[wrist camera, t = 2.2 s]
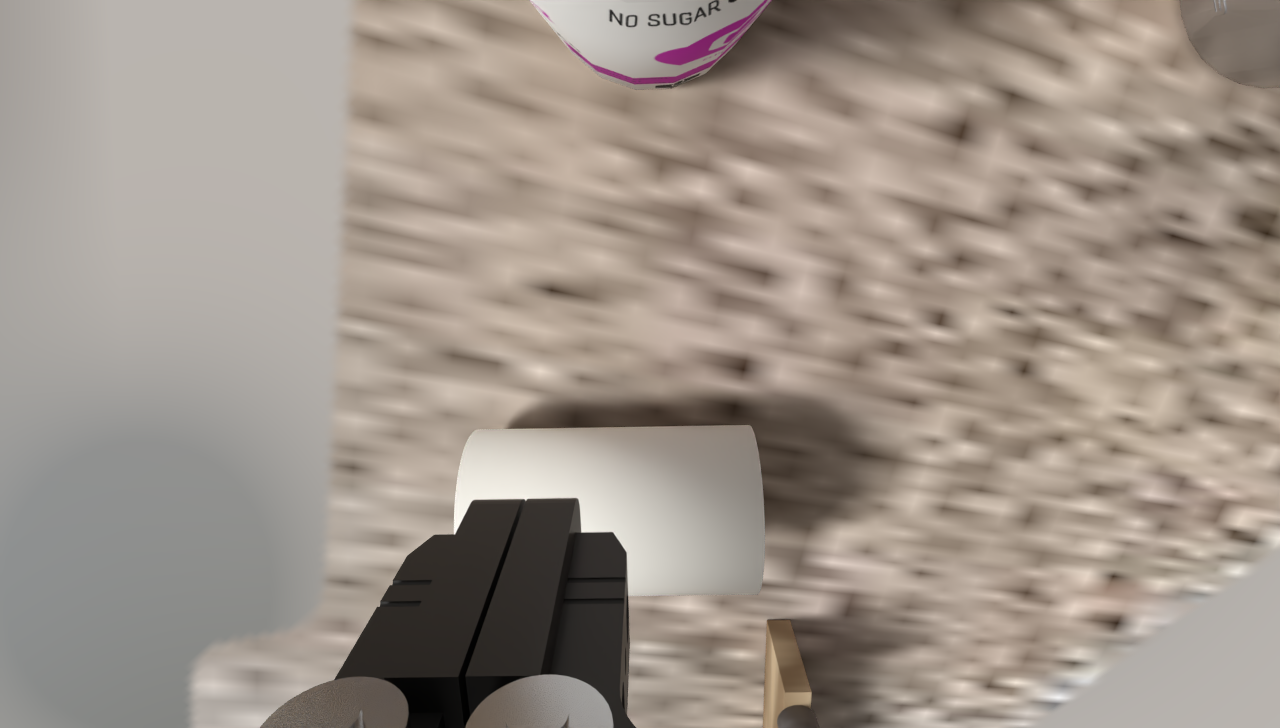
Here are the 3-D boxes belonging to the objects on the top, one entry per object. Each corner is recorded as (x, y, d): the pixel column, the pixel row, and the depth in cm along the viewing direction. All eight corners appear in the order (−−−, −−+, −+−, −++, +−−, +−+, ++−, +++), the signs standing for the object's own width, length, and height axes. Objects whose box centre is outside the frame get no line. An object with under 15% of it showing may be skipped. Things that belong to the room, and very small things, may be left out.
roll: (745, 410, 33) (771, 447, 26) (745, 553, 34) (771, 627, 27) (487, 414, 33) (442, 452, 26) (494, 556, 34) (453, 630, 27)
